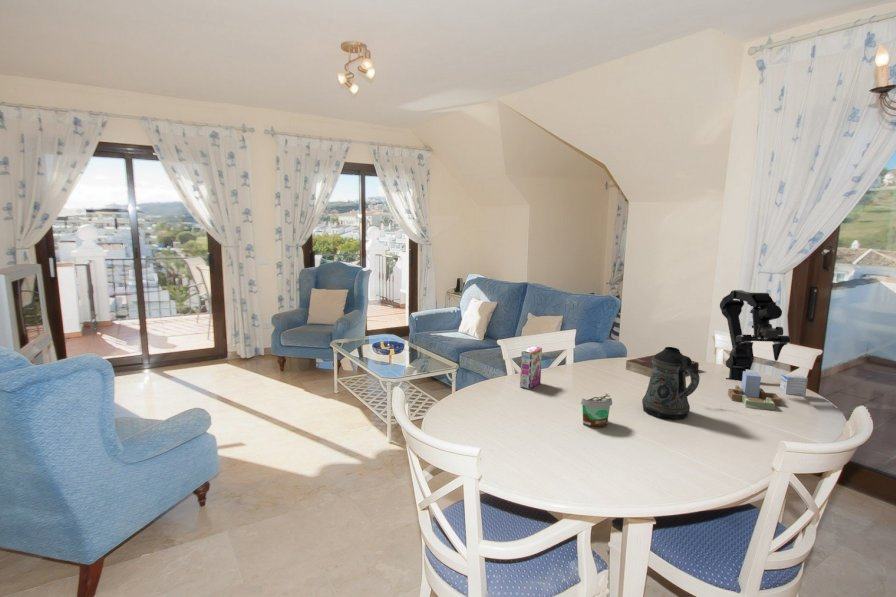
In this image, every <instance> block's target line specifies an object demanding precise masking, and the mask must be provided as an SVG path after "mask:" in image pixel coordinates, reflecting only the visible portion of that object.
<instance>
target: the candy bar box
mask: <svg viewBox="0 0 896 597" xmlns="http://www.w3.org/2000/svg"><path fill="white" fill-rule="evenodd" d="M520 357H521V360H520V379H519V380H520V381H519V382H520V384H519V385H520V386H519V387H520V388H521V387H522V389H525V388H526V389H525V390H530V389H532V388H534V387H536V386H538V385H540V384H541V379H542V378H541V377H542V358H543V348H542V347H539V346H531V347H529V348H526V349H524V350H522V351H521V356H520Z"/></svg>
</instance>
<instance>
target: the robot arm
mask: <svg viewBox="0 0 896 597" xmlns="http://www.w3.org/2000/svg"><path fill="white" fill-rule="evenodd" d="M745 302H746V304H747V305H748V306H750V307H752V309H751V310H750V311H749V313H750V314H752V324H753V325H751V328H752V329H753V335H752V334H743V330H742V327H741V326H742V325H741V320H740V315H741V313H742V311H743V307H744V306H745ZM719 308H720V310H721V315H722V316H723V317H725V319H726V322H727V325H728V330H729V337H730V342H731V347H732V349H731V351H730V352H729V357H728V358H727V359H726V361H725V367H726V368H728V369H729V373H728V375H729V376H728V377H725V380H729V381H739V382H742V377H743V371H748V370H751V368H752V365H753V362H754V350H753V346H754V342H767V343H768V342H772V343H773V344H772V346H771V347H772V351H773V357H774V358H773V359H774V361H775V362H778V361H779V357H780V354H781V353H782V352H781V351H782V349H783V348H784V346H787V345H788V344H790V343H792V342H791V337H790V336H789V335H784V327H782V326H776V327H773V325H772V323H770V321H773V320H776V319H779V318H781V317H782V315H783V310H782V309H781V307H780V306H778V305H777V302H776V301H774V299H773V298H772V296H771V295H770V294H769V293H768V292H749V291H745V290H742V289H741V290H740V289H738V290H736V289H733V290H731V291H730V293H729V294H727V295H726V296H724V297H723V298H722V300H721V301H720V303H719Z"/></svg>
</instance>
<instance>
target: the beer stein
mask: <svg viewBox="0 0 896 597" xmlns="http://www.w3.org/2000/svg"><path fill="white" fill-rule="evenodd" d="M653 355H654V356H653V357H652V363H653V369H652V373H651V377H649V382H648V386H647V389H646V392H645V395H644V396H643V398H642V401H641V404H642V409H643V412H644V413H645V414H647V415H649V416H651V417H654V418H657V419H662V420H665V421H667V420H668V421H679V420H681V421H682V420H685V419H687V418H688V416H689V413H690V409H691V408H690V407H691V406H690V403H689V399H688V397H689V396H690V395H692V394H693V393H694V392H695V390H697V388H698V387H699V384H700V381H701V380H700V379H701V378H700V374H699V369H698V370H697V369H696V368H695V367H694V366H692V365H691V364H692V361H693V360H692V359H691V357H689V356H687V355H684V354H682V353H681V351H680V349H679V348H678V347H673V346H666V347H664V348H663V350H661V351H659V352H658V353H655V354H653ZM685 372H687V374H688V375H689V377H690V383H689V384H688V386H687V379H686V374H685Z"/></svg>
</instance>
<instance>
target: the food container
mask: <svg viewBox="0 0 896 597" xmlns="http://www.w3.org/2000/svg"><path fill="white" fill-rule="evenodd" d="M581 399H582V400H581V402H580V404H581V406H582V425H583V426H584V427H586V428H587V427H588V428H591V429H602V428H603V429H604V428H606V427H607V426H608V422H609V414H610V408H611V406H612V405H613V399H612V397H611V395H610V394H609V393H605V395H603V396H594V397H592V398H589V399H586V398H583V397H582V398H581Z"/></svg>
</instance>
